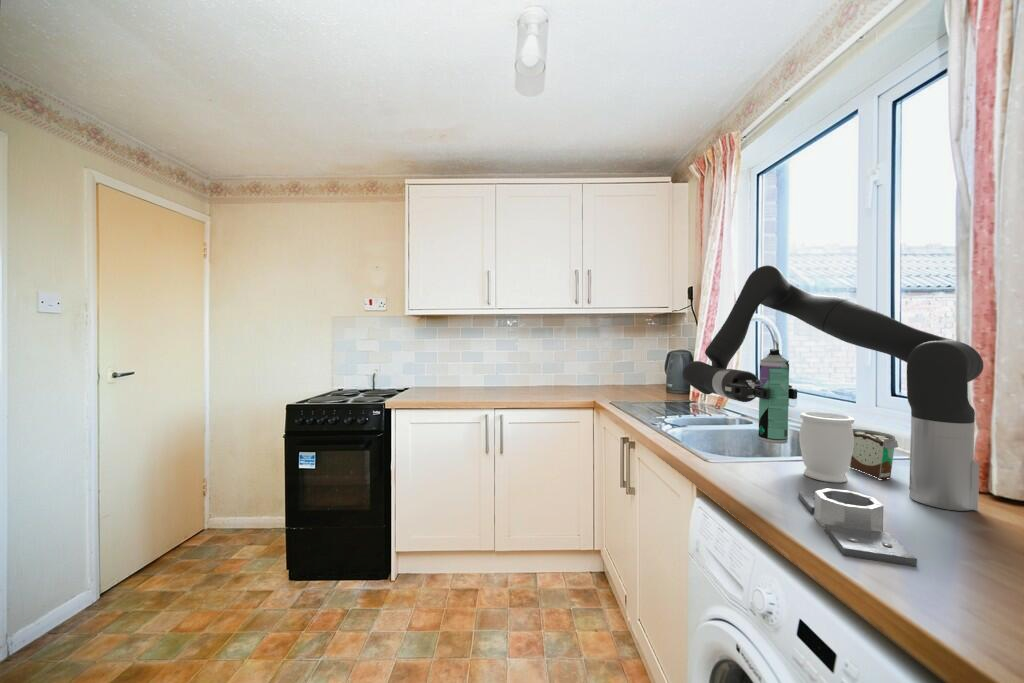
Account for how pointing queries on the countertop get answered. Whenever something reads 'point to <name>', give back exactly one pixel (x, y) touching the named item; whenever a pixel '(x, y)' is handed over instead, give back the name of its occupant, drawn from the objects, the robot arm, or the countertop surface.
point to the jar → (826, 445)
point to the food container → (873, 452)
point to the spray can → (774, 398)
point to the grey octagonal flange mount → (856, 525)
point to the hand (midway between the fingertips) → (781, 394)
